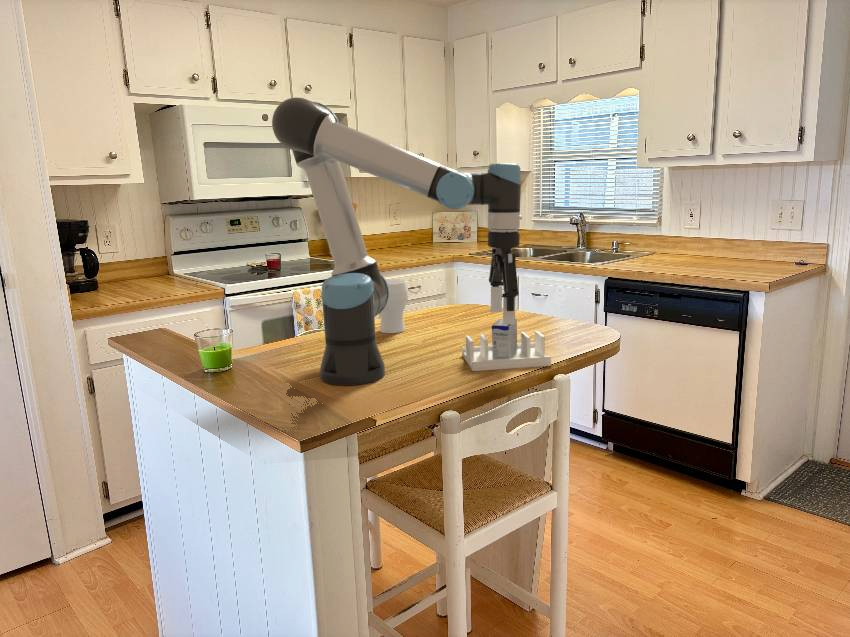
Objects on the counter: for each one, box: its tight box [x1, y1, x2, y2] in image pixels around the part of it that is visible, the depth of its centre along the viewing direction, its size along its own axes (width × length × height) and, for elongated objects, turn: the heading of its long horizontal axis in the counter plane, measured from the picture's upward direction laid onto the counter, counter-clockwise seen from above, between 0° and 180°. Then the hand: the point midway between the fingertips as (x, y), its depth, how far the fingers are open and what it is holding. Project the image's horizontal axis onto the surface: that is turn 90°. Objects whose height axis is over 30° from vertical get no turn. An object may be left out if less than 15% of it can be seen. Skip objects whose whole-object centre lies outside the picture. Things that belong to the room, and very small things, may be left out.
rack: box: [461, 330, 552, 372], centre depth 157 cm, size 19×14×6 cm
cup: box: [379, 278, 409, 334], centre depth 191 cm, size 11×11×15 cm
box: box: [491, 318, 518, 359], centre depth 156 cm, size 8×4×9 cm, turn 159°
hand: (502, 317), depth 155 cm, fingers open, 13 cm apart
